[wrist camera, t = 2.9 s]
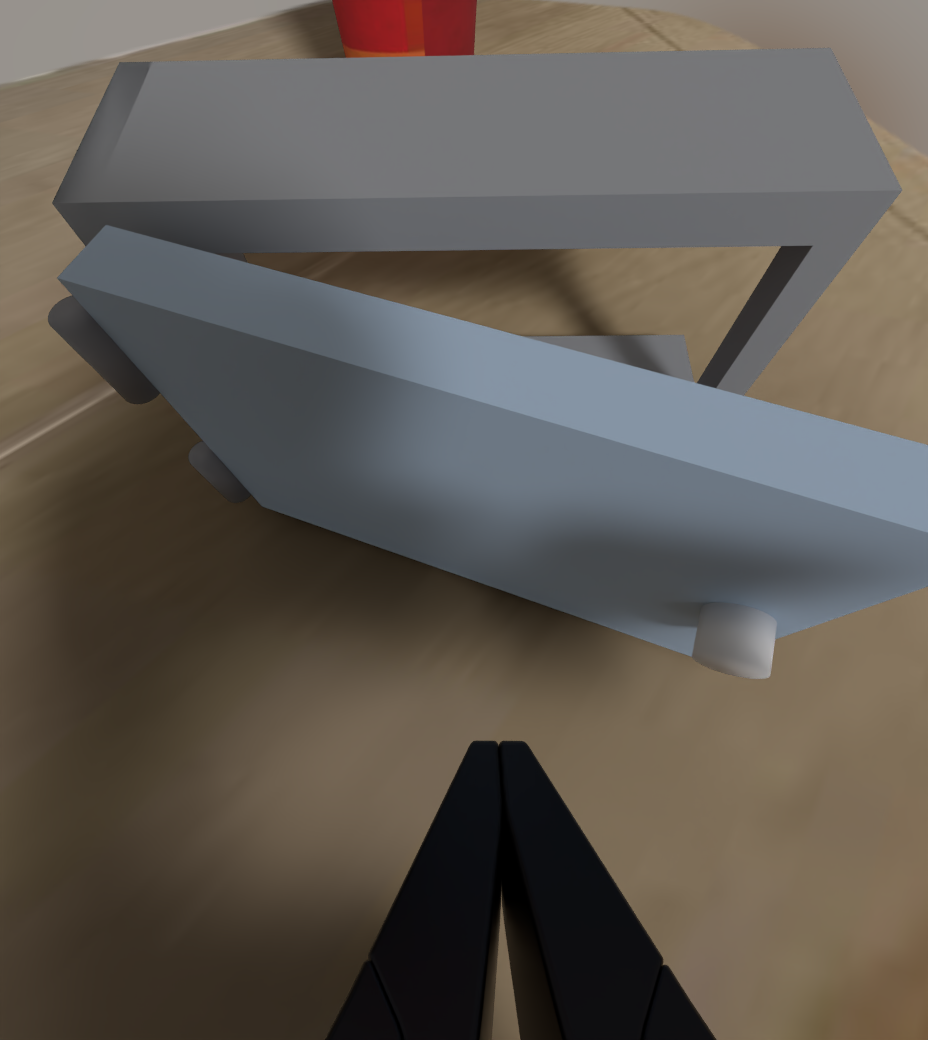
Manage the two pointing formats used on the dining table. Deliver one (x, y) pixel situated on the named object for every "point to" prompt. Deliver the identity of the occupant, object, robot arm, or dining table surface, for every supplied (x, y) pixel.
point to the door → (508, 452)
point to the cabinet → (502, 167)
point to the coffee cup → (406, 27)
